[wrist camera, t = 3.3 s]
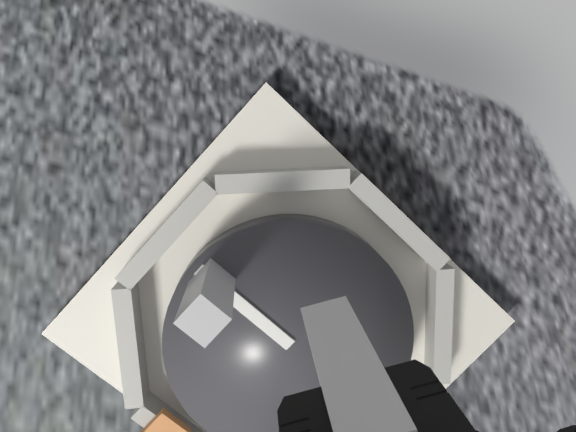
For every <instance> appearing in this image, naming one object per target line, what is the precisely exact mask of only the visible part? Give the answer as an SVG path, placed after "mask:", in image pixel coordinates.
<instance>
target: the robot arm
mask: <svg viewBox="0 0 576 432" xmlns="http://www.w3.org/2000/svg"><path fill="white" fill-rule="evenodd" d="M300 309H301V313H302V317H303V321H304V325H305V328H306V332H307V336H308V340H309V344H310V348H311V351H312V355H313V359H314V363H315V367H316V370H317V374H318V378H319V382H320V386H321V387H317V388H314V389H310V390H306V391H303V392H299V393H295V394H292V395H288V396H284V397H283V399H282V401H281V404H280V406H279V408H278V410H277V415H278V426H279V432H479V431H476V430H475V429H474V428H473V426H472V425H471V424H470V422H469V421H468V419H467V418H466V417H465V415H464V414H463V413H462V411H461V410H460V408H459V407H458V406H457V404H456V403H455V401H454V400H453V399H452V397H451V396H450V394H449V393H447V391H446V389H445V387H444V386H443V385H442V383H441V382H440V381H439V379H438V378H437V376H436V375H435V374H434V372H433V371H432V369H431V368H430V367H428V366H426V365H425V364H423V363H421V362H419V361H417V360H415V359H414V360H411V361H407V362H403V363H400V364H396V365H392V366H389V367H385V368H384V367H383V365H382V363H381V361H380V359H379V357H378V355H377V353H376V352H375V350H374V348H373V346H372V344H371V342H370V340H369V339H368V337H367V335H366V333H365V331H364V329H363V327H362V325H361V324H360V322H359V320H358V318H357V316H356V314H355V312H354V311H353V309H352V307H351V305H350V303H349V301H348V299H347V297H346V296H343V297H339V298H336V299H332V300H328V301H324V302H321V303H317V304H313V305H310V306H306V307H302V308H300ZM557 432H576V425H572V426H569V427H566V428H563V429H560V430H558V431H557Z"/></svg>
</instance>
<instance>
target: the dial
mask: <svg viewBox="0 0 576 432" xmlns="http://www.w3.org/2000/svg"><path fill="white" fill-rule="evenodd" d="M343 296H346V297H347V299H348V301H349V303H350V305H351V307H352V309H353V311H354V312H355V314H356V316H357V318H358V320H359V322H360V324H361V325H362V327H363V329H364V331H365V333H366V335H367V337H368V339H369V340H370V342H371V344H372V346H373V348H374V350H375V352H376V353H377V355H378V357H379V359H380V361H381V363H382V365H383V367H384V368H385V367H389V366H392V365H396V364H400V363H403V362H407V361H411V357H412V352H413V343H414V325H413V317H412V312H411V307H410V304H409V301H408V298H407V295H406V292H405V290H404V288H403V286H402V284H401V282H400V280H399V278H398V277H397V275H396V274H395V273H394V271H393V270H392V268H391V267H390V265H389V264H388V263H387V262H386V261H385V260H384V259H383V258H382V257H381V256H380V255H379V254H378V253H377V252H376V251H375V250H374V248H373V247H372V246H371V245H370V244H369V243H367V242H366V241H365V240H364V239H362V238H361V237H360V236H359V235H357V234H356V233H354V232H353V231H351V230H349V229H348V228H346V227H344V226H342V225H340V224H337V223H335V222H333V221H330V220H327V219H323V218H320V217H316V216H310V215H303V214H276V215H267V216H263V217H259V218H255V219H251V220H248V221H246V222H243V223H241V224H238V225H236V226H234V227H232V228H230V229H228V230H227V231H225V232H223V233H221V234H220V235H219V236H217V237H216V238H215V239H213V240H212V241H210V242H209V243H208V244H207V245H206V246H205V247H204V248H203V249H202V250H201V251H200V252H199V253H198V254H197V255H196V256H195V257H194V259H193V260H192V261H191V262H190V264H189V265H188V266H187V268H186V270H185V271H184V273H183V275H182V276H181V278H180V280H179V282H178V284H177V287H176V289H175V291H174V294H173V296H172V298H171V301H170V303H169V305H168V308H167V312H166V316H165V319H164V324H163V332H162V356H163V361H164V367H165V371H166V374H167V377H168V380H169V384H170V386H171V388H172V390H173V392H174V394H175V396H176V398H177V399H178V401H179V402H180V404H181V405H182V407H183V408H184V410H185V411H186V412H187V413H188V414H189V415H190V416H191V418H192V419H193V420H194V421H195V422H196V423H197V424H199V425H200V426H201V427H202V428H203V429H204V430H206V431H207V432H279V426H278V415H277V410H278V408H279V406H280V404H281V401H282V399H283V397H284V396H288V395H292V394H295V393H299V392H303V391H306V390H310V389H314V388H317V387H321V386H320V382H319V378H318V374H317V370H316V367H315V363H314V359H313V355H312V351H311V348H310V344H309V340H308V336H307V332H306V328H305V325H304V321H303V317H302V313H301V309H300V308H302V307H306V306H310V305H313V304H317V303H321V302H324V301H328V300H332V299H336V298H339V297H343Z"/></svg>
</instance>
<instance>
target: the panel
mask: <svg viewBox="0 0 576 432" xmlns="http://www.w3.org/2000/svg"><path fill="white" fill-rule="evenodd" d="M276 214H303V215H310V216H316V217H320V218H323V219H327V220H330V221H333V222H335V223H337V224H340V225H342V226H344V227H346V228H348V229H349V230H351V231H353V232H354V233H356V234H357V235H359V236H360V237H361V238H362V239H364V240H365V241H366V242H367V243H369V244H370V245H371V246H372V247H373V248H374V250H375V251H376V252H377V253H378V254H379V255H380V256H381V257H382V258H383V259H384V260H385V261H386V262H387V263H388V264H389V265H390V267H391V268H392V270H393V271H394V273H395V274H396V275H397V277H398V278H399V280H400V282H401V284H402V286H403V288H404V290H405V292H406V295H407V298H408V301H409V304H410V307H411V312H412V317H413V325H414V343H413V352H412V357H411V360H414V359H415V360H417V361H419V362H421V363H423V364H425V365H426V366H428V367H430V368H431V369H432V371H433V372H434V374H435V375H436V376H437V378H438V379H439V381H440V382H441V383H442V385H443V386H444V387H445V389H446V388H447V387H448V386H449V385H450V384H451V383H452V382H453V381H454V380H455V379H456V378H457V377H458V376H459V375H460V374H461V373H462V372H463V371H464V370H465V369H466V368H467V367H468V366H469V365H471V364H472V363H473V362H474V361H475V360H476V359H477V358H478V357H479V356H480V355H481V354H482V353H483V352H484V351H485V350H486V349H487V348H488V347H489V346H490V345H491V344H492V343H493V342H494V341H495V340H496V339H497V338H498V337H499V336H500V335H501V334H502V333H503V332H504V331H505V330H506V329H507V328H508V327H509V326H510V325H511V324H512V323H514V322H515V321H514V320H513V319H512V318H511V317H510V316H509V315H508V314H507V313H506V312H505V311H504V310H503V309H502V308H501V307H500V306H499V305H498V304H497V303H496V302H495V301H494V300H493V299H491V298H490V297H489V296H488V295H487V294H486V293H485V292H484V291H483V290H482V289H481V288H480V287H479V286H478V285H477V284H476V283H475V282H474V281H473V280H472V279H471V278H470V277H469V276H468V275H466V274H465V273H464V272H463V271H462V270H461V269H460V268H459V267H458V266H457V265H456V264H455V263H454V262H453V261H452V260H451V258H450V257H449V256H448V255H446V254H445V253H444V252H443V251H442V250H441V249H440V248H439V247H438V246H437V245H436V244H435V243H434V242H433V241H432V240H431V239H430V238H429V237H428V236H427V235H426V234H425V233H424V232H423V231H421V230H420V229H419V228H418V227H417V226H416V225H415V224H414V223H413V222H412V221H411V220H410V219H409V218H408V217H407V216H406V215H405V214H404V213H403V212H402V211H401V210H400V209H399V208H398V207H396V206H395V205H394V204H393V203H392V202H391V201H390V200H389V199H388V198H387V197H386V196H385V195H384V194H383V193H382V192H381V191H380V190H379V189H378V188H377V187H376V186H375V185H374V184H373V183H371V182H370V181H369V180H368V179H367V178H366V177H365V176H364V175H363V174H362V173H361V172H359V171H358V170H357V169H356V168H355V167H354V166H353V165H352V164H351V163H350V162H349V161H348V160H347V159H346V158H345V157H344V156H342V155H341V154H340V153H339V152H338V151H337V150H336V149H335V148H334V147H333V146H332V145H331V144H330V143H329V142H328V141H327V140H326V139H325V138H324V137H323V136H322V135H321V134H320V133H319V132H317V131H316V130H315V129H314V128H313V127H312V126H311V125H310V124H309V123H308V122H307V121H306V120H305V119H304V118H303V117H302V116H301V115H300V114H299V113H298V112H297V111H296V110H295V109H294V108H292V107H291V106H290V105H289V104H288V103H287V102H286V101H285V100H284V99H283V98H282V97H281V96H280V95H279V94H278V93H277V92H276V91H275V90H274V89H273V88H272V87H271V86H270V85H269V84H267V83H265V84H264V85H263V86H262V87H261V89H260V90H259V91H258V92H257V93H256V94H255V95H254V96H253V97H252V99H251V100H250V101H249V102H248V103H247V104H246V105H245V106H244V108H243V109H242V110H241V111H240V112H239V113H238V114H237V115H236V117H235V118H234V119H233V120H232V121H231V122H230V123H229V124H228V125H227V127H226V128H225V129H224V130H223V131H222V132H221V133H220V134H219V136H218V137H217V138H216V139H215V140H214V141H213V142H212V143H211V144H210V146H209V147H208V148H207V149H206V150H205V151H204V152H203V153H202V155H201V156H200V157H199V158H198V159H197V160H196V161H195V162H194V164H193V165H192V166H191V167H190V168H189V169H188V170H187V171H186V172H185V174H184V175H183V176H182V177H181V178H180V179H179V180H178V181H177V183H176V184H175V185H174V186H173V187H172V188H171V189H170V190H169V192H168V193H167V194H166V195H165V196H164V197H163V198H162V199H161V200H160V202H159V203H158V204H157V205H156V206H155V207H154V208H153V209H152V211H151V212H150V213H149V214H148V215H147V216H146V217H145V218H144V220H143V221H142V222H141V223H140V224H139V225H138V226H137V227H136V228H135V230H134V231H133V232H132V233H131V234H130V235H129V236H128V237H127V239H126V240H125V241H124V242H123V243H122V244H121V245H120V246H119V248H118V249H117V250H116V251H115V252H114V253H113V254H112V255H111V256H110V258H109V259H108V260H107V261H106V262H105V263H104V264H103V265H102V267H101V268H100V269H99V270H98V271H97V272H96V273H95V274H94V276H93V277H92V278H91V279H90V280H89V281H88V282H87V283H86V284H85V286H84V287H83V288H82V289H81V290H80V291H79V292H78V293H77V295H76V296H75V297H74V298H73V299H72V300H71V301H70V302H69V304H68V305H67V306H66V307H65V308H64V309H63V310H62V311H61V312H60V314H59V315H58V316H57V317H56V318H55V319H54V320H53V321H52V323H51V324H50V325H49V326H48V327H47V328H46V329H45V330H44V332H43V333H42V335H43V336H45V337H46V338H48V339H49V340H50V341H52V342H53V343H54V344H56V345H57V346H59V347H60V348H61V349H63V350H64V351H65V352H67V353H68V354H69V355H71V356H72V357H74V358H75V359H76V360H78V361H79V362H80V363H82V364H83V365H84V366H86V367H87V368H89V369H90V370H91V371H93V372H94V373H95V374H97V375H98V376H99V377H101V378H102V379H104V380H105V381H106V382H108V383H109V384H110V385H112V386H113V387H115V388H116V389H117V390H119V391H120V392H121V393H123V396H124V405H125V409H132V408H135V409H134V411H133V414H132V416H131V419H132V420H134V421H135V422H136V423H138V424H139V425H141V426H142V427H143V428H144V429H143V430H142V431H141V432H207V431H206V430H204V429H203V428H202V427H201V426H200V425H199V424H197V423H196V422H195V421H194V420H193V419H192V418H191V416H190V415H189V414H188V413H187V412H186V411H185V410H184V408H183V407H182V405H181V404H180V402H179V401H178V399H177V398H176V396H175V394H174V392H173V390H172V388H171V386H170V384H169V380H168V377H167V374H166V371H165V367H164V361H163V356H162V332H163V324H164V319H165V316H166V312H167V308H168V305H169V303H170V301H171V298H172V296H173V294H174V291H175V289H176V287H177V284H178V282H179V280H180V278H181V276H182V275H183V273H184V271H185V270H186V268H187V266H188V265H189V264H190V262H191V261H192V260H193V259H194V257H195V256H196V255H197V254H198V253H199V252H200V251H201V250H202V249H203V248H204V247H205V246H206V245H207V244H208V243H209V242H210V241H212V240H213V239H215V238H216V237H217V236H219V235H220V234H221V233H223V232H225V231H227V230H228V229H230V228H232V227H234V226H236V225H238V224H241V223H243V222H246V221H248V220H251V219H255V218H259V217H263V216H267V215H276Z"/></svg>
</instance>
